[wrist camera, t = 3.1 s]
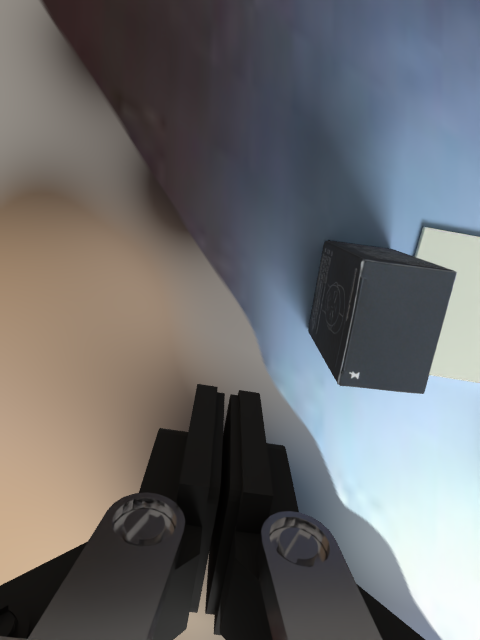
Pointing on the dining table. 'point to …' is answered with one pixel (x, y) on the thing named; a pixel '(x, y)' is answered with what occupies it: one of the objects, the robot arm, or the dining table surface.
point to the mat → (456, 303)
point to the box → (378, 316)
